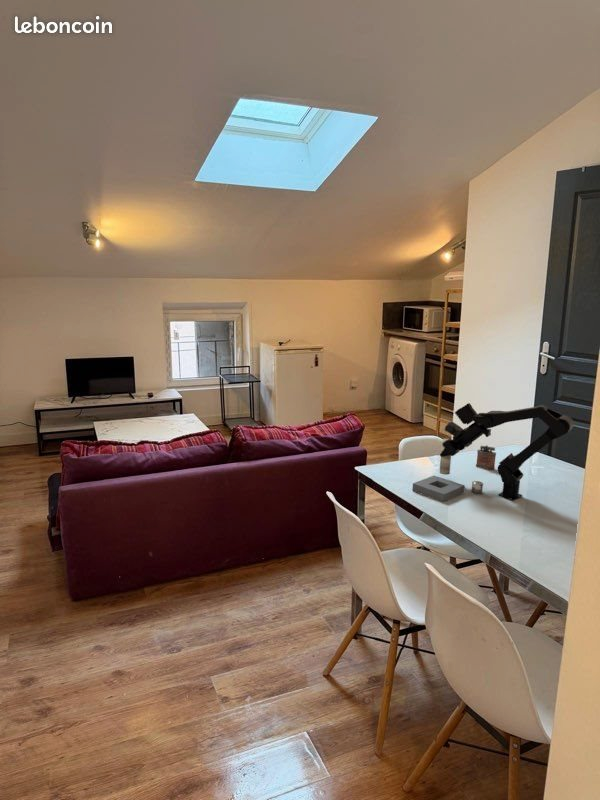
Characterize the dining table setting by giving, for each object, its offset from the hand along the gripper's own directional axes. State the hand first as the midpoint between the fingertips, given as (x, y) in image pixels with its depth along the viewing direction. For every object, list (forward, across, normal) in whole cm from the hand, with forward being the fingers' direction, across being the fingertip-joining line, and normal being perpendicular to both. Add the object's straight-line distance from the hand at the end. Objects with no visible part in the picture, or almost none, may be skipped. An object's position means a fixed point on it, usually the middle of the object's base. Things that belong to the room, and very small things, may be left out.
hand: (442, 454), depth 215 cm
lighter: (+1, -26, +14) cm, 30 cm away
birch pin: (+4, 0, +6) cm, 8 cm away
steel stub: (-4, +5, +19) cm, 20 cm away
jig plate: (+4, +14, +11) cm, 18 cm away
